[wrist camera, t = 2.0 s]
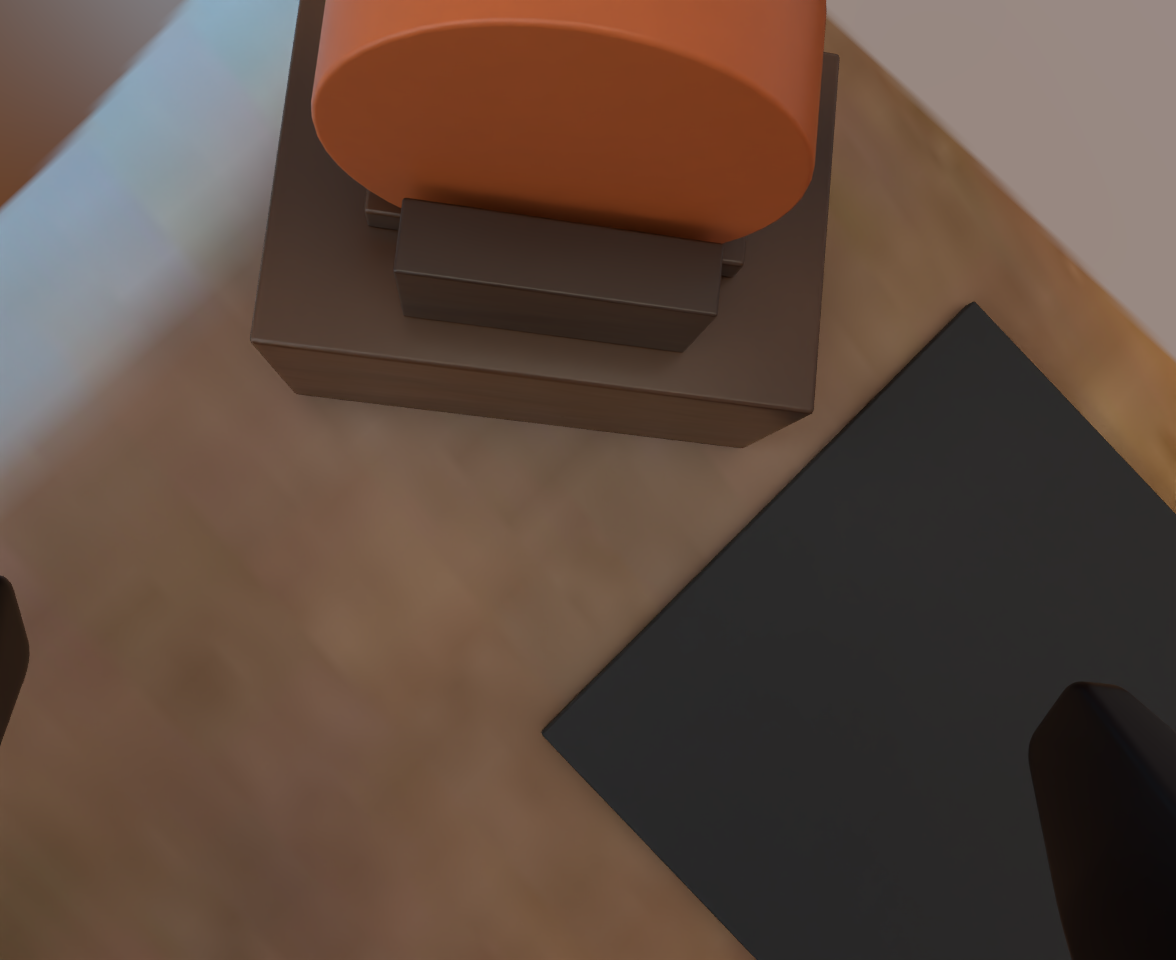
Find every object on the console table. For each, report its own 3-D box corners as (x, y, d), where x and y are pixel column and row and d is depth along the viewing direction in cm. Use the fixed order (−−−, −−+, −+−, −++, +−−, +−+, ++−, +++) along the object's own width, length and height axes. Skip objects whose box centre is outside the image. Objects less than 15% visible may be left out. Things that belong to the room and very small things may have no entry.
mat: (1540, 912, 23) (1559, 918, 23) (1181, 1403, 21) (1195, 1419, 21) (966, 305, 23) (974, 300, 23) (540, 732, 21) (541, 734, 20)
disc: (747, 277, 18) (896, 70, 11) (356, 229, 17) (246, -16, 10) (758, 150, 18) (909, -130, 11) (374, 101, 17) (277, -223, 11)
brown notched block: (744, 449, 22) (869, 387, 15) (293, 394, 21) (212, 301, 14) (768, 155, 23) (896, -26, 16) (336, 88, 22) (278, -138, 15)
